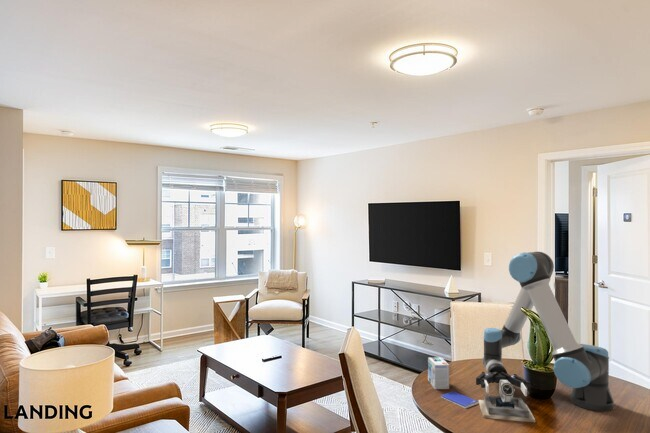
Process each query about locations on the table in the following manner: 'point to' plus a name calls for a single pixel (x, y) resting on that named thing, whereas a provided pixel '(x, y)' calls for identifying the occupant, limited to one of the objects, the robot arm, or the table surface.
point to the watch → (505, 394)
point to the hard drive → (459, 399)
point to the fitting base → (505, 409)
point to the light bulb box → (438, 373)
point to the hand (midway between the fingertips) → (506, 391)
